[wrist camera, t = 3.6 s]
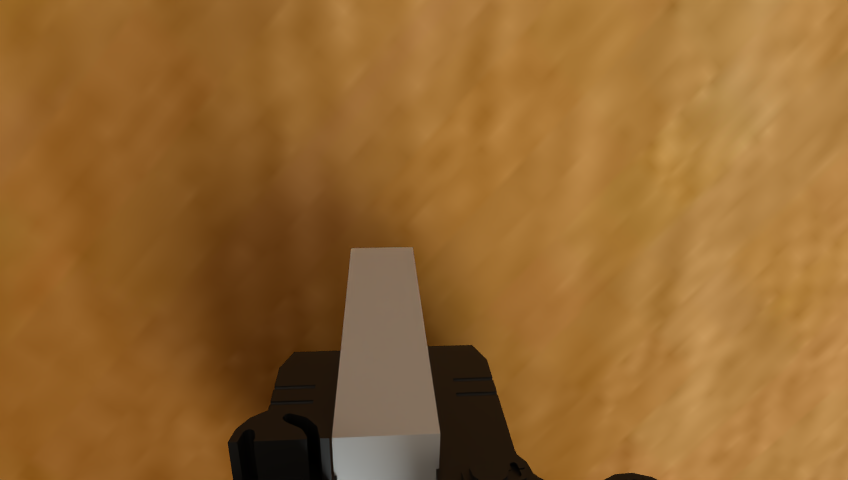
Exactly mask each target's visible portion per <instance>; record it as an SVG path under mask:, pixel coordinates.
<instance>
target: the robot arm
mask: <svg viewBox="0 0 848 480" xmlns="http://www.w3.org/2000/svg"><path fill="white" fill-rule="evenodd" d="M228 448H229V454H230V461H231V468H232V475H233V480H543V479H541V478H539V477H537V476H536V475H535V474H533V472H532V470H531V469H530V467H529V465H528V464H527V462H526V461H525V460H523V459H522V458H521V457H519V456H518V455H517V454H516V452H515V450H514V446H513V443H512V440H511V437H510V433H509V430H508V427H507V424H506V420H505V417H504V414H503V411H502V408H501V404H500V401H499V398H498V395H497V391H496V388H495V385H494V382H493V380H492V375H491V372H490V369H489V365H488V362H487V359H486V358H485V357H484V356H483V355H481V354H480V353H479V352H478V351H477V350H476V349H475V348H474V347H473V346H472V345H459V346H427V340H426V334H425V327H424V320H423V313H422V307H421V300H420V293H419V286H418V280H417V273H416V266H415V259H414V253H413V247H391V248H351V255H350V264H349V274H348V284H347V294H346V304H345V313H344V323H343V333H342V343H341V351H316V352H294V353H293V354H292V355H291V356H290V357H289V358H288V359H287V360H286V362H285V363H284V364H283V365H282V366H281V367H280V368H279V372H278V375H277V379H276V383H275V390H273V394H272V398H271V405H270V406H269V409H268V411H265V412H263V413H261V414H258V415H256V416H254V417H251V418H249V419H248V420H247V421H246V422H244V423H243V424H242V425H240V426H239V427H238V428H237V429H236V430H235V431H234V433H233V435H232V436H231V438H230V440H229V441H228ZM605 480H657V479H655V478H652V477H649V476H644V475H640V474H635V473H625V474H615V475H613V476H611V477H609V478H607V479H605Z"/></svg>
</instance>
